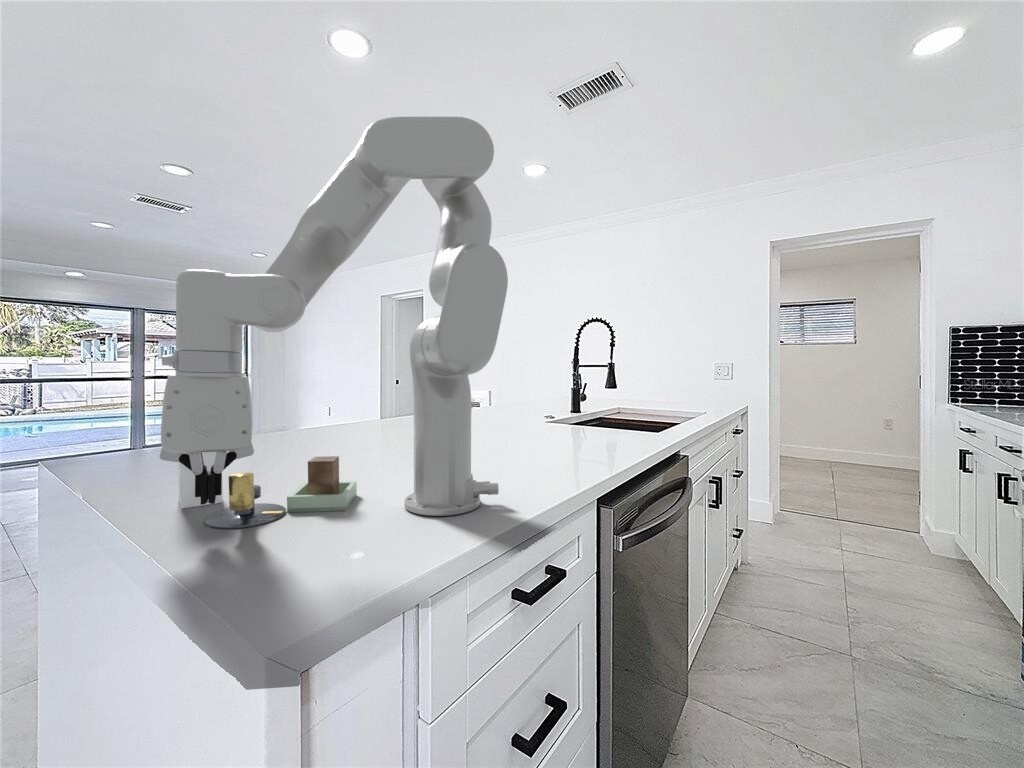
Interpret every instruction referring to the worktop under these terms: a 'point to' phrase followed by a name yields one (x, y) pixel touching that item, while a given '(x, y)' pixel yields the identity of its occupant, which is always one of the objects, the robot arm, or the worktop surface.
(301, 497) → the tray
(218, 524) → the crank base
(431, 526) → the worktop surface
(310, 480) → the block
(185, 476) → the milk
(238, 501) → the crank
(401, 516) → the worktop surface
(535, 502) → the worktop surface
